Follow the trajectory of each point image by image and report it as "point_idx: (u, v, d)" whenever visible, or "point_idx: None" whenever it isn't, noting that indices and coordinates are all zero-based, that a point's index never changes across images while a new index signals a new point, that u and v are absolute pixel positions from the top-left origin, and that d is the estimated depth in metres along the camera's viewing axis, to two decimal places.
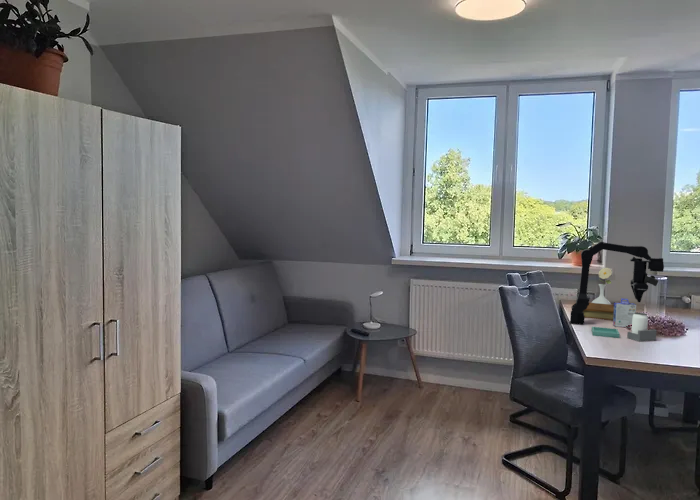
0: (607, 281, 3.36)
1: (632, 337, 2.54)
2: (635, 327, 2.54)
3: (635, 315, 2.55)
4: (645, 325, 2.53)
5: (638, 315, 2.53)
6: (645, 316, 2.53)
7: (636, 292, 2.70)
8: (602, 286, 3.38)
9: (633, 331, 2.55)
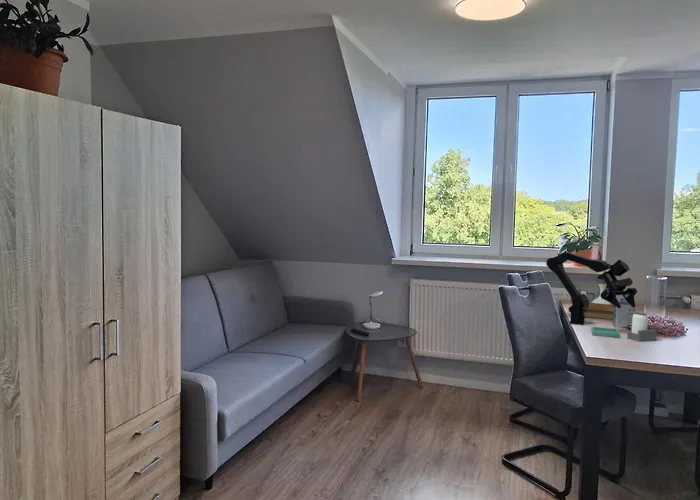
0: None
1: (632, 337, 2.54)
2: (635, 327, 2.54)
3: (635, 315, 2.55)
4: (645, 325, 2.53)
5: (638, 315, 2.53)
6: (645, 316, 2.53)
7: (610, 301, 2.65)
8: (602, 286, 3.38)
9: (633, 331, 2.55)
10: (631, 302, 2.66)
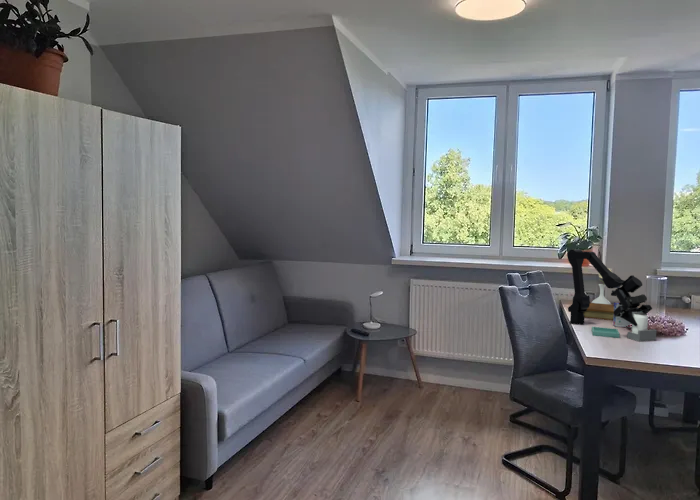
0: None
1: (632, 337, 2.54)
2: (635, 327, 2.54)
3: (635, 315, 2.55)
4: (645, 325, 2.53)
5: (638, 315, 2.53)
6: (645, 316, 2.53)
7: (626, 318, 2.57)
8: (602, 286, 3.38)
9: (633, 331, 2.55)
10: None
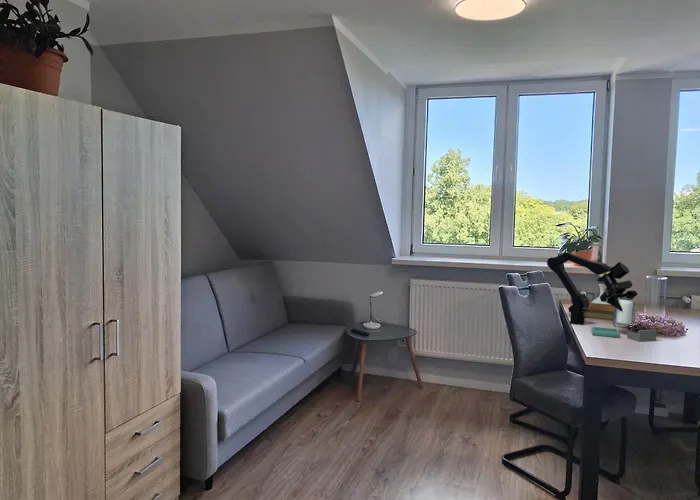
0: None
1: (632, 337, 2.54)
2: (620, 312, 2.62)
3: (621, 300, 2.63)
4: (630, 310, 2.61)
5: (623, 300, 2.61)
6: (630, 301, 2.61)
7: (611, 303, 2.65)
8: (602, 286, 3.38)
9: (618, 316, 2.64)
10: None
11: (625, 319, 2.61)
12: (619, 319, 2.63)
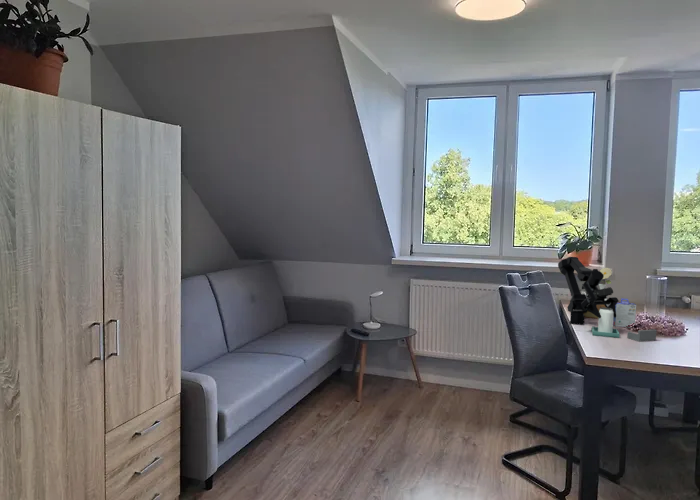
0: (607, 281, 3.36)
1: (632, 337, 2.54)
2: (601, 322, 2.62)
3: (601, 310, 2.62)
4: (611, 319, 2.60)
5: (604, 310, 2.61)
6: (611, 311, 2.60)
7: (590, 311, 2.64)
8: (602, 286, 3.38)
9: (599, 326, 2.63)
10: None
11: (606, 329, 2.61)
12: (600, 329, 2.62)
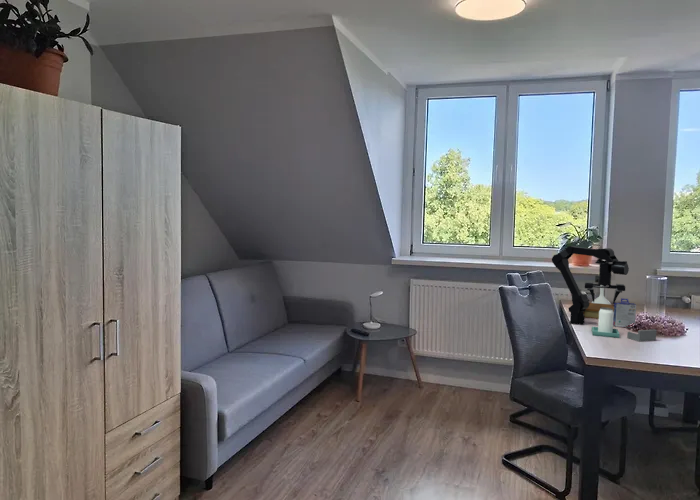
0: None
1: (632, 337, 2.54)
2: (601, 322, 2.62)
3: (601, 310, 2.62)
4: (611, 320, 2.60)
5: (604, 310, 2.61)
6: (611, 311, 2.60)
7: None
8: None
9: (599, 326, 2.63)
10: None
11: (606, 329, 2.61)
12: (600, 329, 2.62)
